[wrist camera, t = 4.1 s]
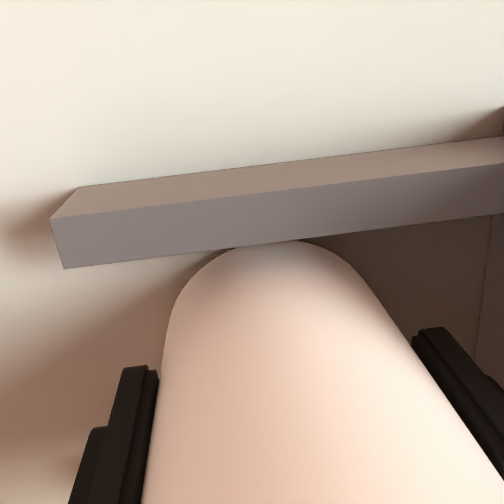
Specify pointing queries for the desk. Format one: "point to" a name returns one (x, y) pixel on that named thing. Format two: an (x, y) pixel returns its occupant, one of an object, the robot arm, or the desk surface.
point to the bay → (299, 211)
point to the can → (301, 394)
